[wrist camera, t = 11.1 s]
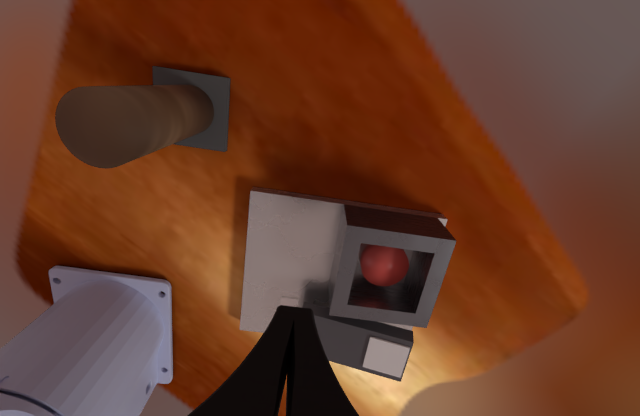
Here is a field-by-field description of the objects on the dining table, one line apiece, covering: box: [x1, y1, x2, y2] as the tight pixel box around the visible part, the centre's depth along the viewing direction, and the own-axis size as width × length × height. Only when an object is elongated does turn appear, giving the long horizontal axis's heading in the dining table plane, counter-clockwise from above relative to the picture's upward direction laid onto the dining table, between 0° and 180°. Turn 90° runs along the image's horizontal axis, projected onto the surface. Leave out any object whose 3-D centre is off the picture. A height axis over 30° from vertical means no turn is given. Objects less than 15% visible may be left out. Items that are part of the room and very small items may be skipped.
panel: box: [240, 187, 456, 333], centre depth 21 cm, size 10×12×4 cm
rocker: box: [302, 302, 414, 382], centre depth 21 cm, size 3×7×1 cm, turn 81°
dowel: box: [55, 85, 214, 168], centre depth 14 cm, size 3×3×8 cm
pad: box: [152, 66, 230, 152], centre depth 18 cm, size 4×4×1 cm
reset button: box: [359, 243, 409, 286], centre depth 20 cm, size 3×3×2 cm
